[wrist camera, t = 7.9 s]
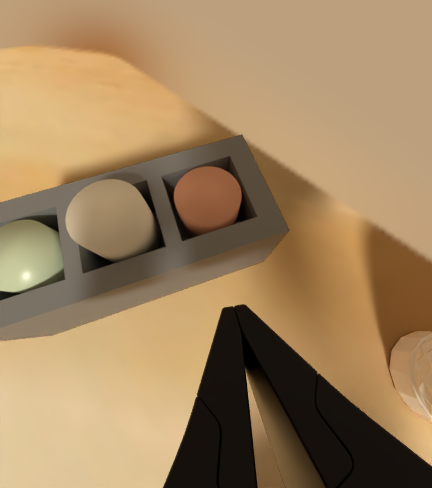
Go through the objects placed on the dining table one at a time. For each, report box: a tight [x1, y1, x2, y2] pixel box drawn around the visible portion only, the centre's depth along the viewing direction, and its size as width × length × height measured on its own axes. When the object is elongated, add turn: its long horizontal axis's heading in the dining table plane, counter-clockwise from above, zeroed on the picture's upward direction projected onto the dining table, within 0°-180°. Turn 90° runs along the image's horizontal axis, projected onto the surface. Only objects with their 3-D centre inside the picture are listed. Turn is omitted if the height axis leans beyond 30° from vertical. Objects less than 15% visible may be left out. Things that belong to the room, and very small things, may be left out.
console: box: [0, 135, 289, 341], centre depth 17 cm, size 8×20×8 cm, turn 109°
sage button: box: [0, 220, 65, 293], centre depth 15 cm, size 4×4×4 cm
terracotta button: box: [174, 166, 242, 239], centre depth 16 cm, size 4×4×4 cm
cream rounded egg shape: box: [65, 179, 163, 263], centre depth 14 cm, size 4×4×4 cm
